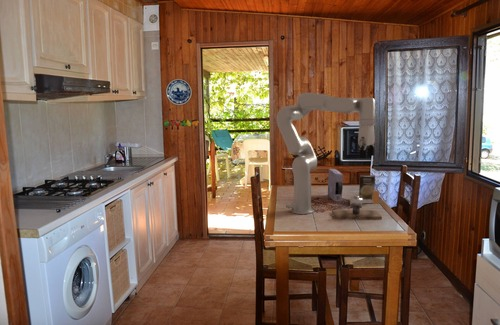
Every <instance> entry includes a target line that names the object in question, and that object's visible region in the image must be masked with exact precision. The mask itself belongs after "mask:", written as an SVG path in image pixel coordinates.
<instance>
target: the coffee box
mask: <svg viewBox="0 0 500 325" xmlns="http://www.w3.org/2000/svg"><path fill="white" fill-rule="evenodd" d="M375 187H376V175H373V174H372V175H371V174H359V189H358V196H359V197H362V198H363V200H368V199H372V190H376V188H375Z"/></svg>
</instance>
